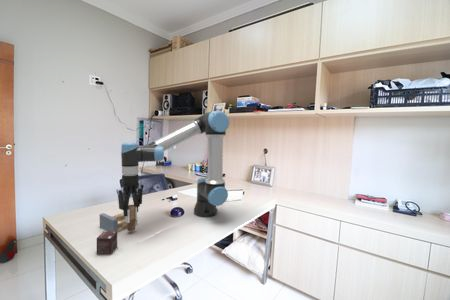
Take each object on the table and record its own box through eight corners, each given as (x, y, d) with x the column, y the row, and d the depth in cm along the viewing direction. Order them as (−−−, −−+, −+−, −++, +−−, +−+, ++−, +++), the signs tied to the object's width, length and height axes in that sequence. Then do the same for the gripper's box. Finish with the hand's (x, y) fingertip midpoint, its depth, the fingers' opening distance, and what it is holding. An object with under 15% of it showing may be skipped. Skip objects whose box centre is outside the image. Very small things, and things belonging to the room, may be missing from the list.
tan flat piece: (137, 224, 113) (137, 217, 113) (116, 232, 104) (116, 224, 103) (124, 219, 119) (125, 212, 119) (104, 226, 110) (104, 218, 109)
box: (103, 247, 92) (103, 231, 92) (117, 247, 93) (117, 231, 92) (96, 255, 86) (96, 238, 86) (111, 255, 87) (111, 238, 86)
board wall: (157, 219, 123) (157, 206, 122) (110, 239, 99) (110, 222, 99) (141, 213, 131) (141, 201, 130) (94, 230, 107) (94, 215, 106)
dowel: (136, 228, 105) (136, 205, 104) (130, 231, 102) (129, 207, 101) (132, 227, 107) (132, 204, 106) (125, 229, 104) (125, 206, 102)
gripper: (140, 170, 111) (140, 213, 113) (109, 176, 97) (110, 224, 99) (149, 172, 107) (150, 216, 109) (118, 178, 93) (119, 228, 95)
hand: (131, 220), depth 104 cm, fingers closed on dowel, 3 cm apart
